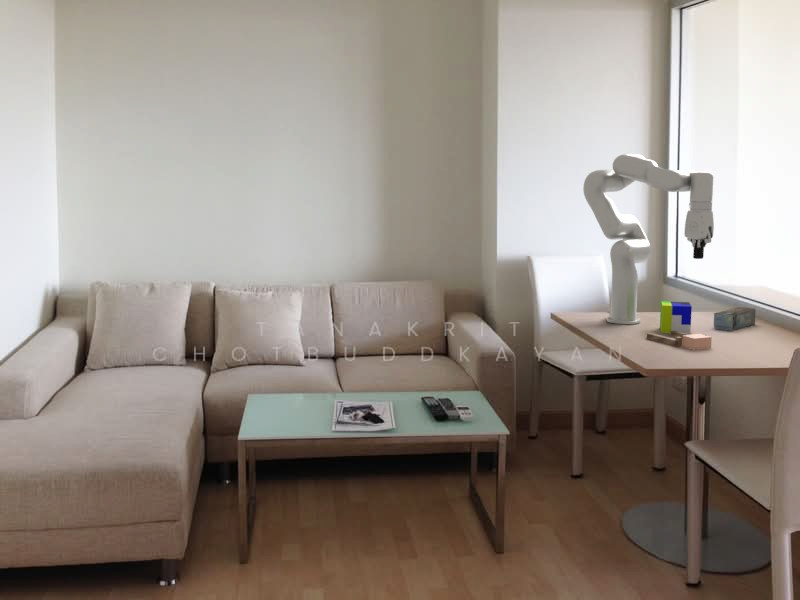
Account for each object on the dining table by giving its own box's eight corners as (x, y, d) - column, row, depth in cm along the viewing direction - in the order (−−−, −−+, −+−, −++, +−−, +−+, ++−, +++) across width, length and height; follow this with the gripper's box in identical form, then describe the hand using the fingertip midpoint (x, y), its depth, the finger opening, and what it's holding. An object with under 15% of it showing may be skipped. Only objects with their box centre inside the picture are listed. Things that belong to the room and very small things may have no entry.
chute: (646, 338, 336) (646, 329, 336) (673, 335, 341) (673, 327, 341) (678, 346, 322) (678, 337, 321) (706, 343, 327) (706, 334, 327)
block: (682, 347, 322) (682, 335, 322) (698, 345, 325) (699, 333, 324) (694, 350, 317) (694, 338, 316) (711, 348, 319) (711, 337, 319)
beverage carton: (712, 328, 356) (712, 311, 355) (736, 322, 370) (737, 305, 369) (732, 331, 351) (733, 313, 350) (756, 324, 364) (757, 307, 363)
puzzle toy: (690, 333, 345) (691, 306, 343) (661, 332, 347) (662, 305, 345) (687, 329, 354) (689, 302, 353) (659, 328, 356) (660, 301, 355)
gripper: (677, 205, 344) (675, 256, 347) (707, 208, 330) (705, 261, 333) (693, 205, 347) (691, 255, 350) (724, 207, 334) (721, 260, 336)
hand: (698, 258), depth 342 cm, fingers closed
